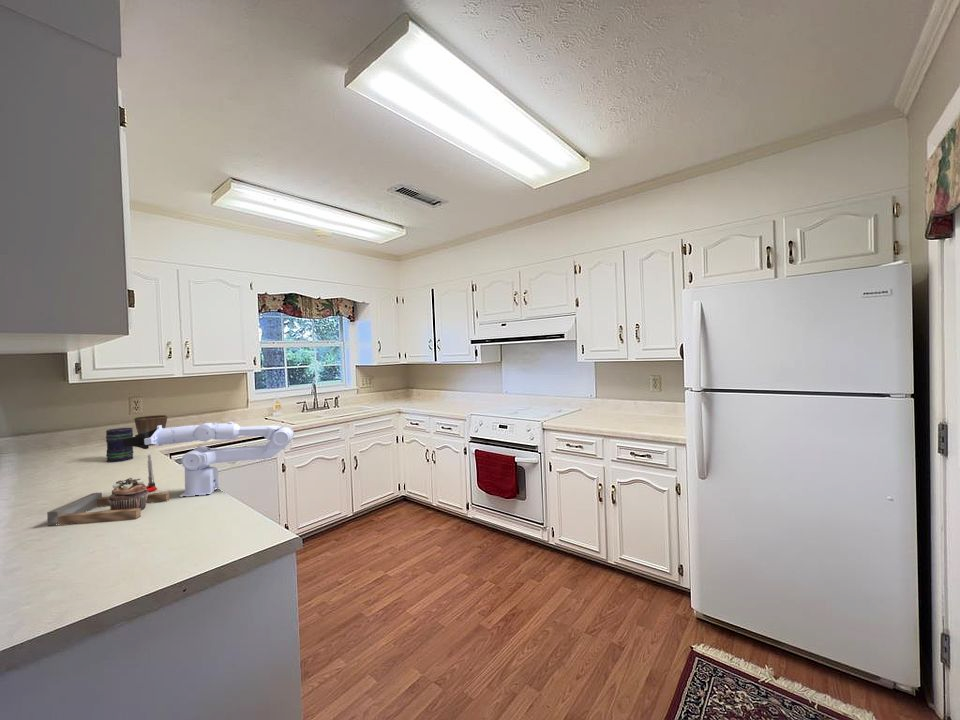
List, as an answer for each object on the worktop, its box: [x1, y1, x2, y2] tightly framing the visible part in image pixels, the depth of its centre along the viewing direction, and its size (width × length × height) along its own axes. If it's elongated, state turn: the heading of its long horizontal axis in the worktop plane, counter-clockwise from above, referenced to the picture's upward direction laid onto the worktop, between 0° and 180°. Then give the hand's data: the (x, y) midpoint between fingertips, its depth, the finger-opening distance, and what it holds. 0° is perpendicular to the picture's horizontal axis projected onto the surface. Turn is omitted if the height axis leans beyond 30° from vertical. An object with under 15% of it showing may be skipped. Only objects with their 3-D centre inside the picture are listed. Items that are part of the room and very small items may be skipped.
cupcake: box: [108, 477, 149, 511], centre depth 127 cm, size 10×10×10 cm
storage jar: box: [105, 427, 134, 464], centre depth 196 cm, size 10×10×15 cm
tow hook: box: [145, 454, 158, 493], centre depth 145 cm, size 8×13×9 cm
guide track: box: [46, 491, 171, 526], centre depth 126 cm, size 22×17×4 cm
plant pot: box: [133, 414, 168, 446], centre depth 234 cm, size 15×15×16 cm
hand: (129, 440), depth 137 cm, fingers open, 7 cm apart
